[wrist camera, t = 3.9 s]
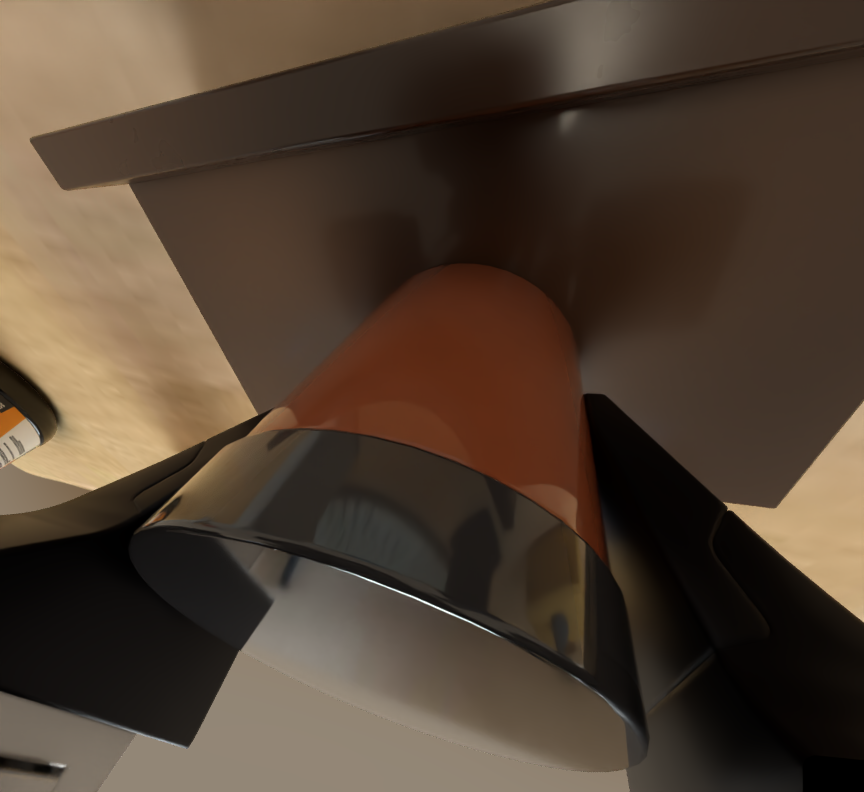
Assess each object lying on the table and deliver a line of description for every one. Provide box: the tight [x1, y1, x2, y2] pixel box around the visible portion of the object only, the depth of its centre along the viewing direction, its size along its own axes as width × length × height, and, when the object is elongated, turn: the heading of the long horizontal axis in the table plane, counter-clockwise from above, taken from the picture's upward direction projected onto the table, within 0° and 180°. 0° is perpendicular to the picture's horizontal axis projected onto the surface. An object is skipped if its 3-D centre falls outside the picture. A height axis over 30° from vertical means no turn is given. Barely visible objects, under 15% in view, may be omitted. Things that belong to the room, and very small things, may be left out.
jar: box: [127, 263, 650, 772], centre depth 7 cm, size 6×6×7 cm
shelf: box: [30, 0, 864, 508], centre depth 10 cm, size 18×11×5 cm, turn 97°
